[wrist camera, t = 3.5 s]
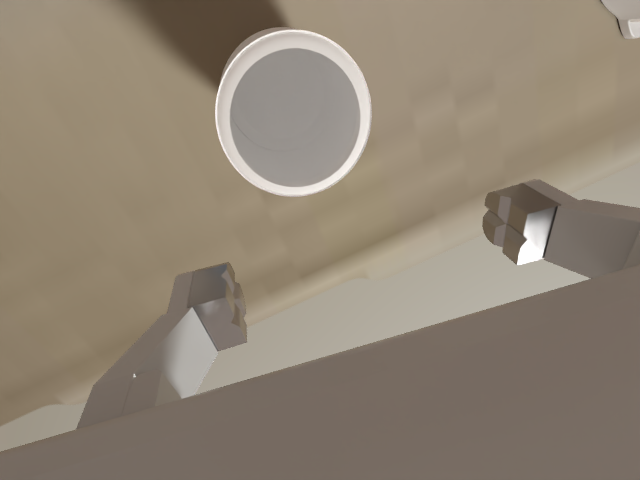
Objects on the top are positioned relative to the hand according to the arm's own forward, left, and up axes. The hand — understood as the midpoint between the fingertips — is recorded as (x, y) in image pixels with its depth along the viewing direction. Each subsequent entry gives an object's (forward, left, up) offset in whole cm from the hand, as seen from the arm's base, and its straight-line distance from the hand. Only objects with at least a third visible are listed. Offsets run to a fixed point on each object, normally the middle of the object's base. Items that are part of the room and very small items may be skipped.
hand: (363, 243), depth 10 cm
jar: (0, 0, -29) cm, 29 cm away
